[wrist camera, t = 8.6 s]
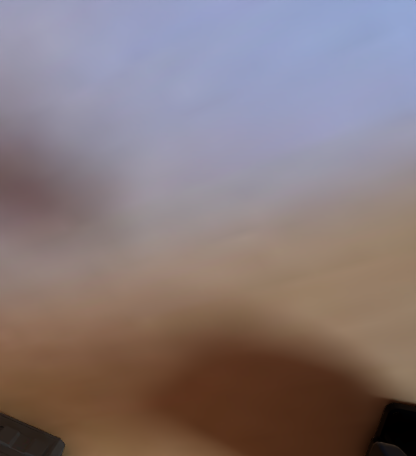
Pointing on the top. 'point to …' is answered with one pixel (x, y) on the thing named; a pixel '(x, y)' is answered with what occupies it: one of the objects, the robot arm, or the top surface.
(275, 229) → the top surface
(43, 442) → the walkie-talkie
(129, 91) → the top surface
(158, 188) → the top surface
